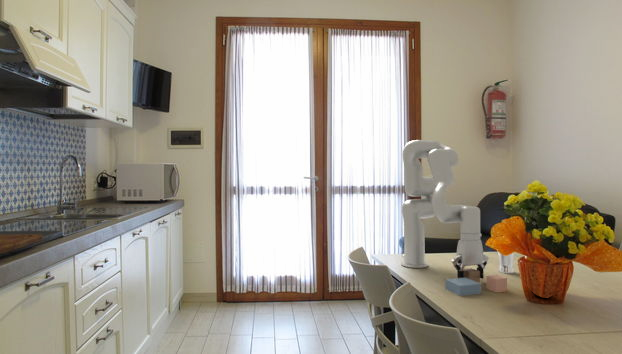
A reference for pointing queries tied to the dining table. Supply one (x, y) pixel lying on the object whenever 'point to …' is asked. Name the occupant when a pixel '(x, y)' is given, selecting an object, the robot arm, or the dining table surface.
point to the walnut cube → (472, 274)
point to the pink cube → (496, 283)
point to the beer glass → (506, 263)
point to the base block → (463, 286)
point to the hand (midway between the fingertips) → (470, 278)
